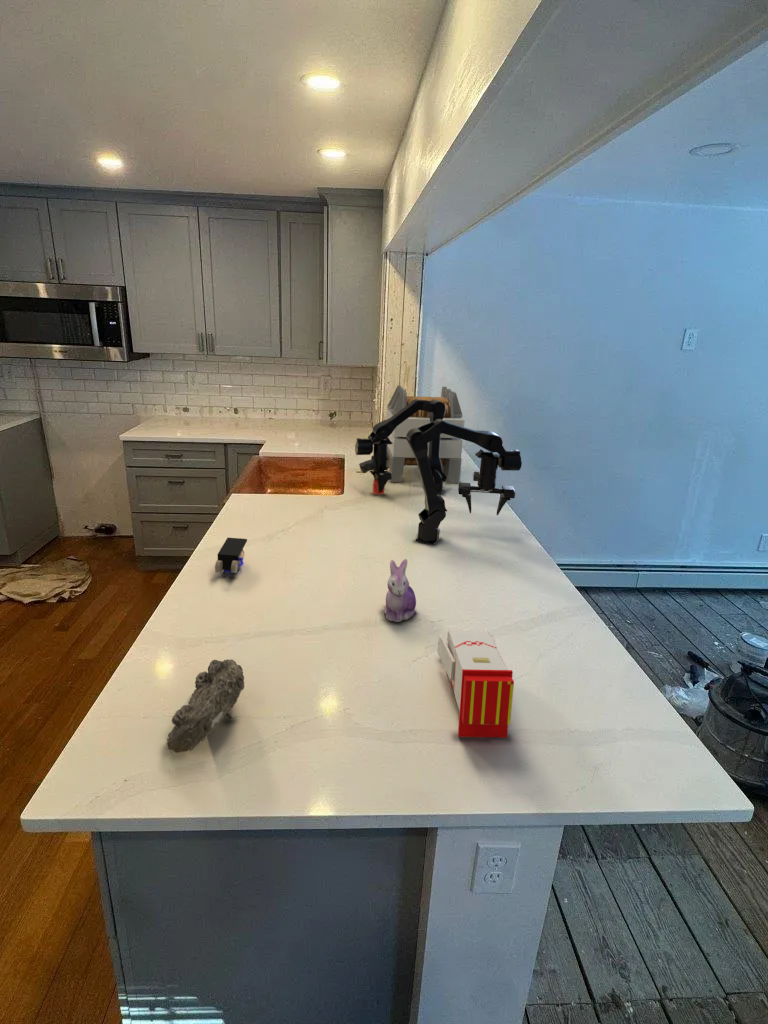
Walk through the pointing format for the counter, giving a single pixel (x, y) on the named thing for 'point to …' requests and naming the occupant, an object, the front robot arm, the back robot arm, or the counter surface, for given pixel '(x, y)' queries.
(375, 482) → the canister
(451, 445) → the transformer
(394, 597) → the figurine
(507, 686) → the toy
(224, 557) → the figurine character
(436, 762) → the counter surface
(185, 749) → the fossil
